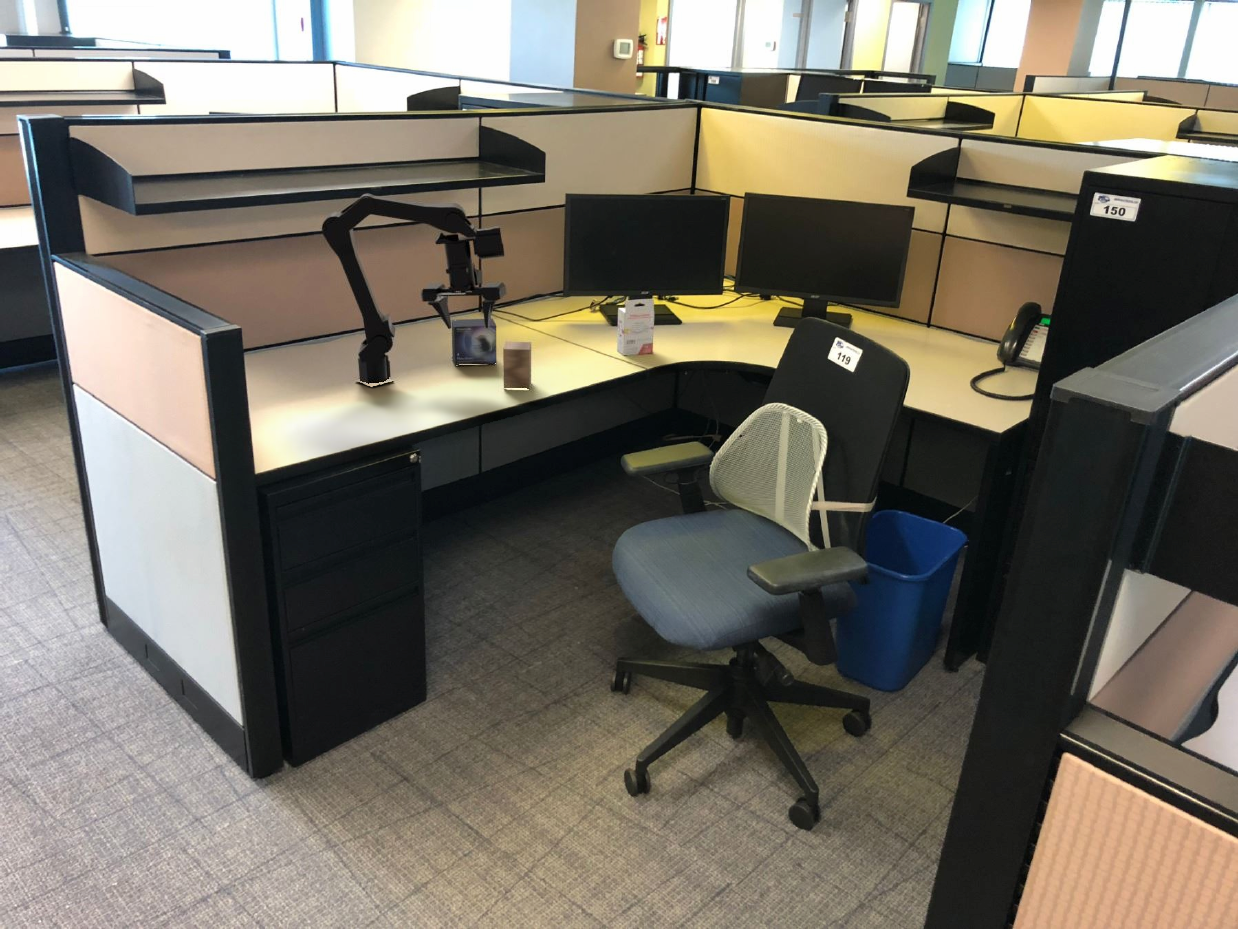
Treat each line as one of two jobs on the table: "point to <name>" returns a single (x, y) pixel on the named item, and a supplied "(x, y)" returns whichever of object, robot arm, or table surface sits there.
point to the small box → (473, 342)
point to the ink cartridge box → (636, 327)
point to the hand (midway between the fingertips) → (468, 328)
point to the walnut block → (517, 364)
